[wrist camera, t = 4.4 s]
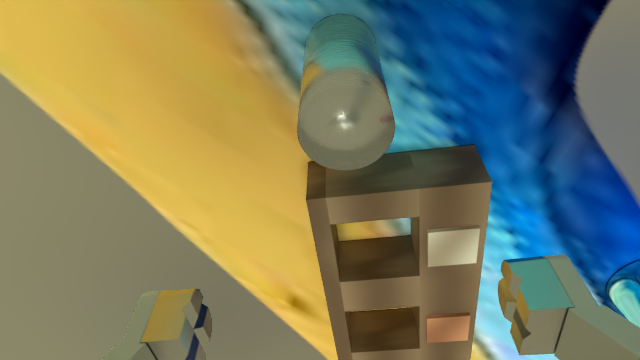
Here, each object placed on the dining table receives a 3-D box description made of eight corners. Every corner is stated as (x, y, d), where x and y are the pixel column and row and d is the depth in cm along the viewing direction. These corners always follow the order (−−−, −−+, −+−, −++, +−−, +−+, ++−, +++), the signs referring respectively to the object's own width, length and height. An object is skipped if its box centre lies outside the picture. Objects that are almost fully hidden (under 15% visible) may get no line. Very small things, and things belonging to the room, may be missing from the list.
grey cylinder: (373, 9, 24) (393, 80, 17) (377, 77, 26) (396, 165, 19) (300, 19, 24) (289, 92, 17) (311, 85, 27) (305, 174, 20)
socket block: (474, 144, 29) (493, 185, 26) (459, 319, 40) (471, 363, 37) (308, 162, 30) (306, 202, 27) (339, 327, 41) (340, 371, 38)
